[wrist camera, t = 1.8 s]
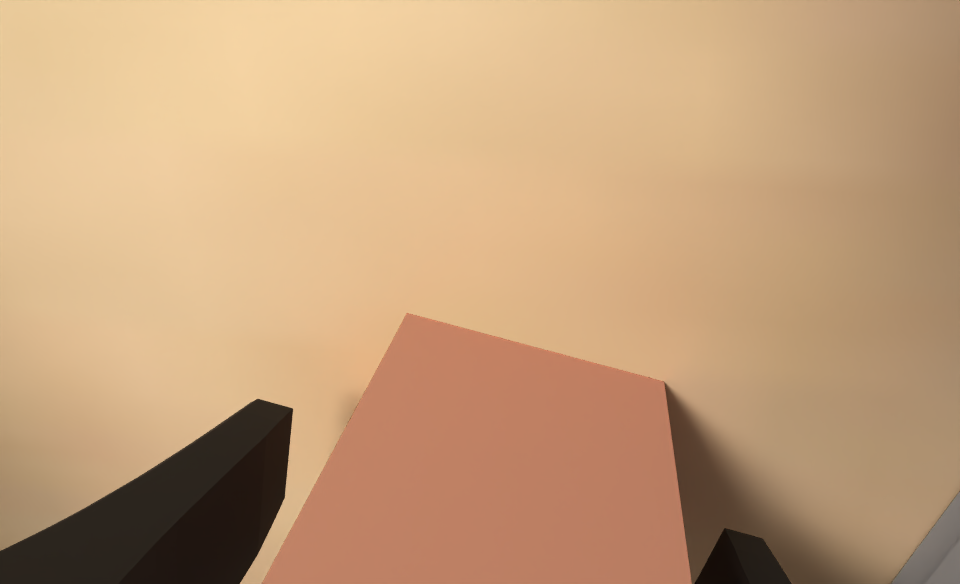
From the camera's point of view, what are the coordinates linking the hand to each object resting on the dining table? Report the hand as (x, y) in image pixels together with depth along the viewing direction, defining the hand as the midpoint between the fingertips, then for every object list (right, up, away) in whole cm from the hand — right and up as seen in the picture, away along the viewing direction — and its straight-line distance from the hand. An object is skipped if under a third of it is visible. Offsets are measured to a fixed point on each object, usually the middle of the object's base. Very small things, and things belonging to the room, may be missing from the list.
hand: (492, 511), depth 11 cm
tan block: (0, +1, +1) cm, 2 cm away
